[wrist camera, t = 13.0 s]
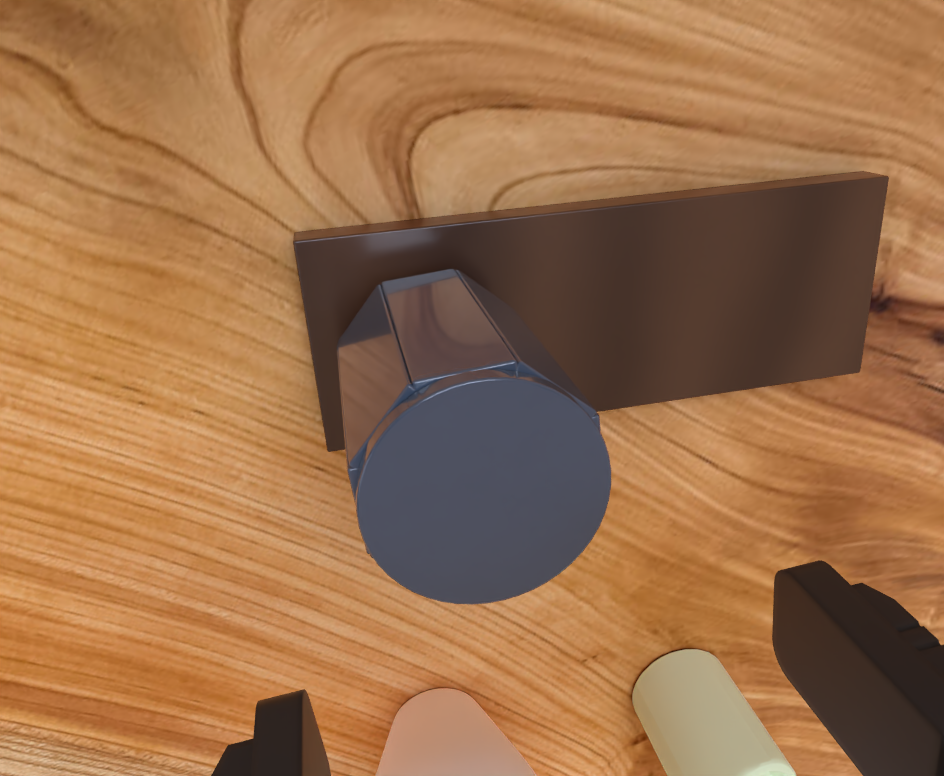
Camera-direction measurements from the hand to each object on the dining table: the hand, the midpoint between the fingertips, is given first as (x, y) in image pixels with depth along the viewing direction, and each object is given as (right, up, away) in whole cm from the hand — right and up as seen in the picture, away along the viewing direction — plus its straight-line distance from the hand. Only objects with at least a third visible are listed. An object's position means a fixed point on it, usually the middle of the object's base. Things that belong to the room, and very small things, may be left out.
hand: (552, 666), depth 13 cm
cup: (-3, +6, +13) cm, 14 cm away
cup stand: (+3, +8, +17) cm, 19 cm away
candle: (+9, -11, +27) cm, 30 cm away
